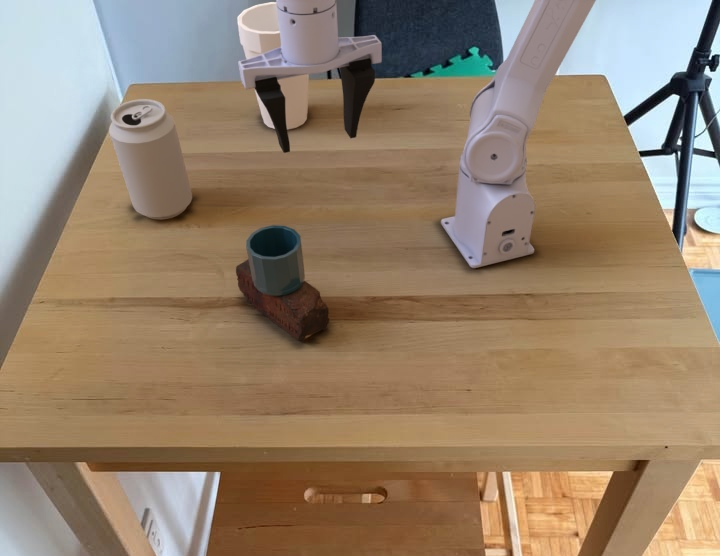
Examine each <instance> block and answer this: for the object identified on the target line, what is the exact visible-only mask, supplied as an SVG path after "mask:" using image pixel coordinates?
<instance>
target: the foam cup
mask: <svg viewBox="0 0 720 556" xmlns="http://www.w3.org/2000/svg"><path fill="white" fill-rule="evenodd" d="M236 19H237V30H238V35H239V42H240V45H241V46H242V48H243V52H244V55H245V60H246V59H250V58H253V57H255V56H258V55H261V54H263V53H266V52H268V51H271V50H273V49H276V48H279V47H281V40H280V31H279V22H278V13H277V4H276V1H270V2H264V3H259V4H255V5H252V6H250V7H248V8H245V9H243V10H242V11H241V12H240V14H238V16H236ZM309 77H310V74H305V75H300V76H295V77H290V78H285V79H280V80H277V81H278V83H279V84H280V86H281V91H282V93H283V94H284V96H285V112H286V126H287V131H288V130H292V129H297V128H298V127H300V126H302V125H305V122H306V121H307V120H308V109H309V107H308V106H309V83H310V82H309V79H310V78H309ZM253 89H254V93H255V97H256V99H257V104H258V106H259V111H260V114H261V118H262V120H263V124H264V125H266V126H267V127H268V128H270V129H274V130H275V128H274V125H273V122H272V120H271V118H270V115H269V113H268V111H267V109H266V107H265V106H264V104H263V102H262V101H261V99H260V97H259V96H258V94H257V92H256V90H255V88H253Z"/></svg>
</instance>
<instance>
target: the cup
mask: <svg viewBox="0 0 720 556" xmlns="http://www.w3.org/2000/svg"><path fill="white" fill-rule="evenodd" d="M301 237H302V236H301V235H300V234H299V233H298V232H297V230H296V229H295V228H292V227H289V226H286V225H276V224H272V225H268V226H263V227H262V226H261V227H260V228H258V229H256V230H255V231H252V232H251V234H250V235H249V236H248V238H247V239H246V241H245V246H246V254H247V258H248V259H249V265H250V270H251V275H252V280H253V283H254V286H255V287H256V288H257V289H258V290H259V291H260V292H262V293H264V294H267V295H273V296H280V295H286V294H289V293H292V292H294V291H296V290H297V289H299V288H300V287H301V286H302V284H303V282H304V281H306V275H305V264H304V263H305V262H304V255H303V254H304V253H303V246H302V238H301ZM248 259H247V260H248Z"/></svg>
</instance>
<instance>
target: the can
mask: <svg viewBox="0 0 720 556" xmlns="http://www.w3.org/2000/svg"><path fill="white" fill-rule="evenodd" d="M110 121H111V123H110V125H109V128H108V133H109V136H110V139H111V143H112V146H113V148H114V152H115V154H116V155H115V156H116V158H117V161H118V164H119V168H120V170H121V174H122V176H123V179H124V180H123V181H124V182H125V186H126V189H127V192H128V195H129V199H130V201H131V203H132V208H134V210H135V212H137V213H139V214H140V215H142V216H144V217H146V218H148V219H152V220H169V219H172V218H174V217H177V216H179V215H181V214H182V213H183V212H185V210H186V209H187V207H188V206H190V204H191V202H192V200H193V193H192V192H193V191H192V188H191V184H190V180H189V176H188V175H189V174H188V171H187V168H186V163H185V160H184V159H185V158H184V155H183V151H182V147H181V143H180V137H179V134H178V131H177V126H176V122H175V119H174V117H173V116H172V115H171V114H170V113H168V112H167V109H166V106H165V105H164V104H163V103H162V102H160V101H158V100H154V99H150V98H138V99H133V100H129V101H126V102H124V103H121V104H119V105H118V106H117V107H115V108H114V109H113V110H112V112H111V114H110Z"/></svg>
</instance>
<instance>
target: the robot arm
mask: <svg viewBox="0 0 720 556" xmlns="http://www.w3.org/2000/svg"><path fill="white" fill-rule="evenodd" d="M596 1H597V0H534V2H533V3H532V6H531V8H530V10H529V11H528V14H527V16H526V17H525V20H524V22H523V24H522V26H521V28H520V31H519V33H518V34H517V37H516V38H515V41H514V43H513V45H512V47H511V50H510V51H509V53H508V55H507V58H506V59H505V60H503V62H502V63H501V64H500V65H499V66H498V68H497V69H496V71H495V73H494V75H493V77H492V79H491V80H490V81H489V82H488V83H487V84H486V85H485V86H484V87H482V88H481V89H480V90H479V91H478V92H477V93H476V95H475V96H474V97H473V99H472V101H471V104H470V109H469V124H468V131H467V138H466V141H465V142H464V147H463V151H462V153H461V155H460V157H459V164H458V165H459V166H458V177H457V186H456V188H457V189H456V199H455V209H454V210H455V211H454V216H448V217H445V218H442V219H441V220H440V225H441V226H442V228H443V229H444V231H445V232H446V233H447V235H448V236H449V238H450V239H451V241H452V242H453V243H454V245H455V246H456V248H457V250H458V251H459V253H460V254H461V255H462V257H463V258H464V259H465V261H466V262H467V264H468V265H469V267H470V268H472V269H476V268H481V267H485V266H489V265H493V264H498V263H502V262H505V261H510V260H514V259H517V258H521V257H525V256H529V255H533V254H534V253H535V248H534V246H533V245H532V244H531V242H530V240H531V235H532V229H533V224H534V220H535V214H536V201H535V200H534V197H533V196H532V194H531V193H530V190H529V188H528V185H527V178H526V174H527V165H528V157H527V143H528V139H529V137H530V135H531V133H532V131H533V129H534V127H535V125H536V122H537V119H538V116H539V113H540V110H541V107H542V104H543V102H544V101H543V100H544V98H545V95H546V93H547V90H548V89H549V87H550V85H551V83H552V82H553V79H554V78H555V76H556V74H557V73H558V70H559V69H560V67H561V65H562V63H563V61H564V60H565V58H566V56H567V54H568V52H569V51H570V48H571V47H572V45H573V43H574V41H575V39H576V37H577V36H578V33H579V32H580V31H581V28H582V26H583V25H584V23H585V21H586V19H587V18H588V16H589V14H590V13H591V10H592V9H593V7H594V6H595V3H596ZM275 2H276V4H277V13H278V22H279V31H280V40H281V47H279V48H276V49H273V50H271V51H268V52H266V53H263V54H261V55H258V56H255V57H253V58H250V59H246V58H245V59H242V60H238V62H237V63H238V64H237V65H238V69H239V76H240V82H241V83H242V85H243V87H244V89H245V90H252V89H254V88H255V89H254V91H255V90H256V92H257V94H258V96H259V97H260V99H261V101H262V102H263V104H264V106H265V107H266V109H267V111H268V113H269V115H270V118H271V120H272V122H273V125H274V128H275V129H274V128H273V129H274V130H275V133H276V138H277V141H278V145H279V147H280V148H281V150H282V153H284V154H287V153H291V144H290V138H289V132H288V130H287V126H286V112H285V96H284V94H283V93H282V91H281V86H280V84H279V83H278V81H277V80H280V79H285V78H290V77H295V76H300V75H305V74H309V75H317V74H322V73H326V72H328V71H331V70H334V69H339V73H340V79H341V80H340V81H341V89H342V100H343V101H342V102H343V104H342V105H343V106H342V107H343V109H342V111H343V127H344V131H345V133H346V134H347V136H348V137H349V138H350V139H354V138H357V135H358V128H359V123H360V119H361V115H362V112H363V108H364V106H365V103H366V100H367V98H368V96H369V94H370V92H371V90H372V87H373V86H374V84H375V83H376V82H375V81H376V70H375V69H374V68H373V66H372V65H376V64H381V63H382V61H383V59H382V58H383V56H382V53H383V52H382V50H383V49H382V48H383V47H382V41H381V40H380V39H379V37H377V35H376V34H372V35H365V36H343V37H342V36H341V37H340V36H339V28H338V27H339V26H338V9H337V8H338V5H337V0H275Z"/></svg>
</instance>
